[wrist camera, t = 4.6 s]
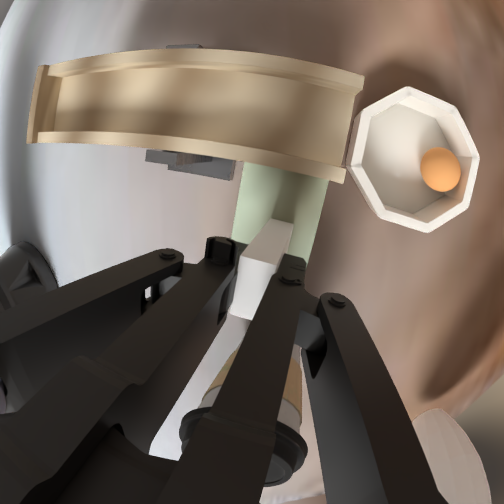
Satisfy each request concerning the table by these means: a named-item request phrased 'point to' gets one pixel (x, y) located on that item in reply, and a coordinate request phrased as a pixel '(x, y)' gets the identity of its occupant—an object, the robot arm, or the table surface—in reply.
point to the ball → (440, 169)
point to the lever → (213, 121)
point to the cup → (452, 459)
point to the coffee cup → (287, 426)
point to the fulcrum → (191, 161)
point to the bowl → (410, 158)
